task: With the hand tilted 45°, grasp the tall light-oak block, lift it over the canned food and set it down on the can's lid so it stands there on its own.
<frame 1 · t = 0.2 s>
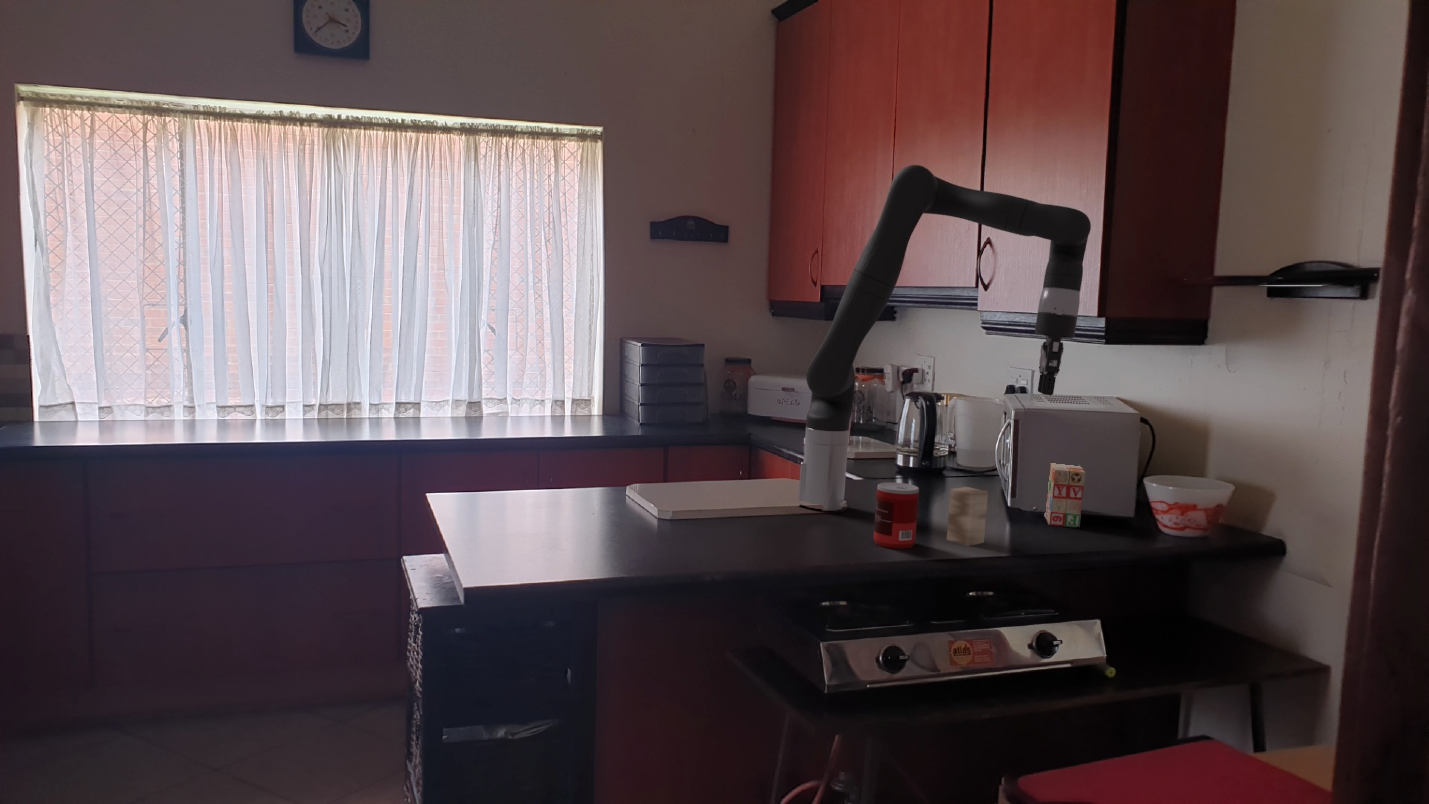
hand: (1044, 393, 197), 29 cm above the countertop, tool pointing down, fingers open, 8 cm apart
oak block: (965, 541, 192), on the countertop
stack of blocks: (1057, 517, 220), on the countertop
canned food: (893, 544, 187), on the countertop
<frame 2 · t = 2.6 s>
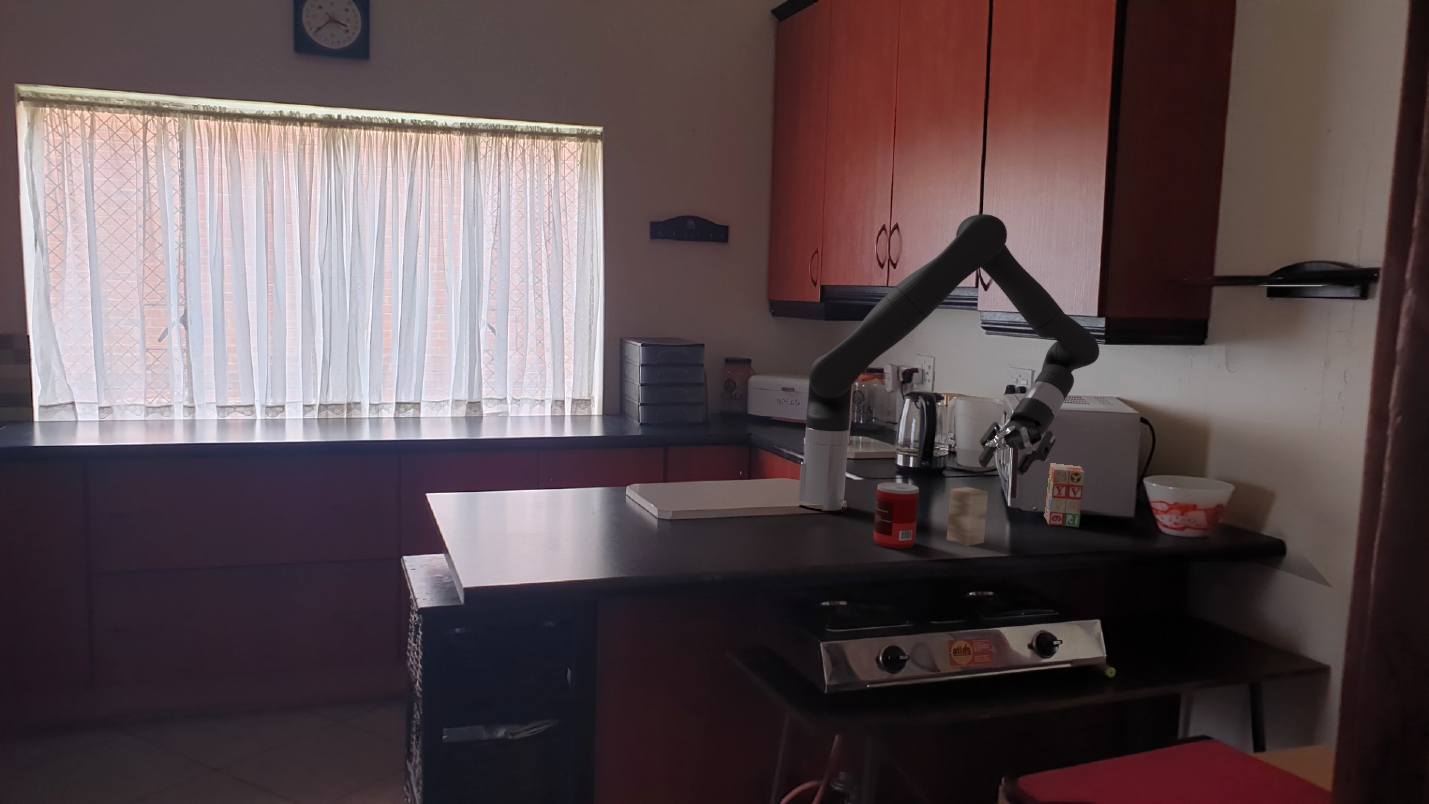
hand: (1000, 468, 197), 14 cm above the countertop, tool tilted 45°, fingers open, 8 cm apart
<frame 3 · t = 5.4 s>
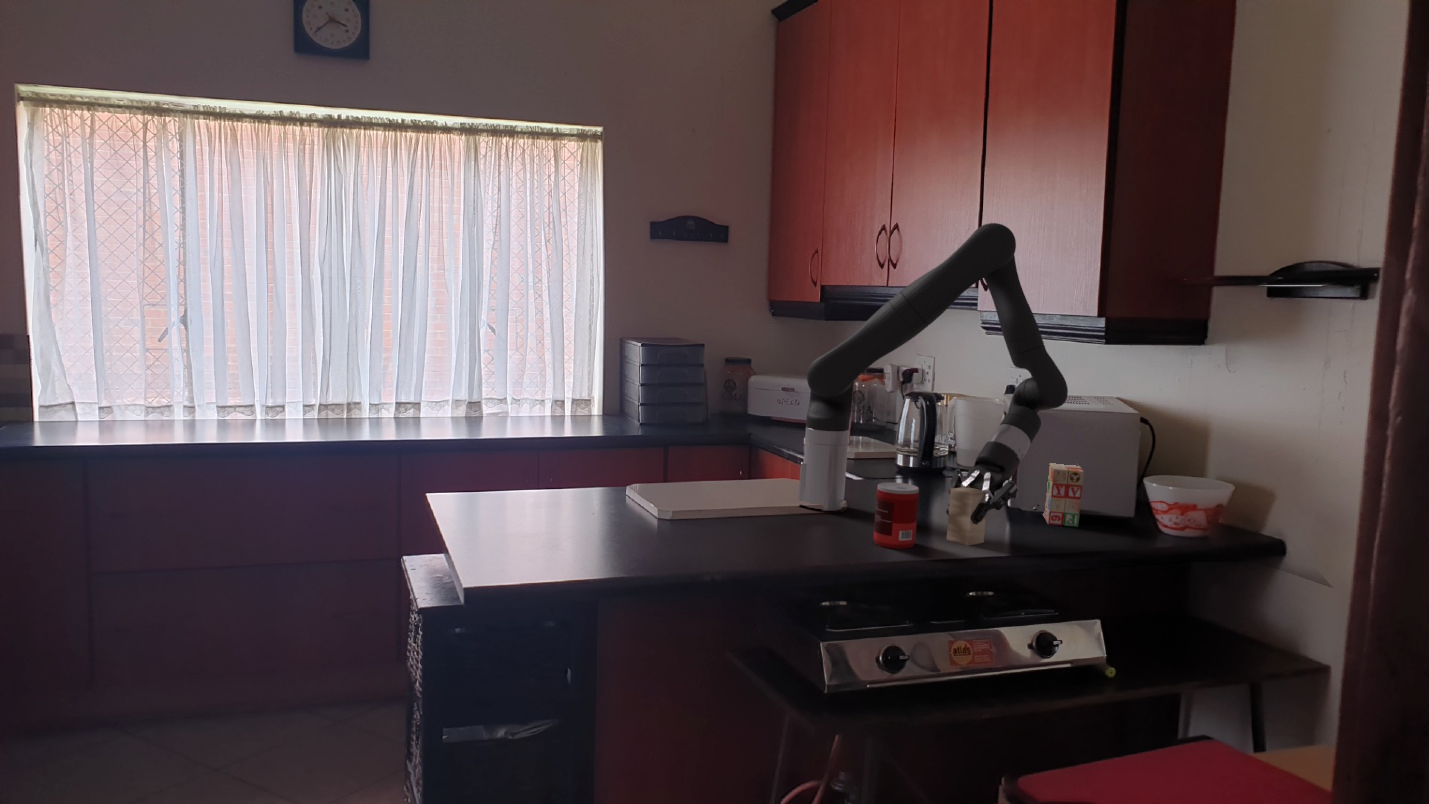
hand: (961, 518, 190), 5 cm above the countertop, tool tilted 45°, fingers closed on oak block, 5 cm apart
oak block: (965, 541, 192), on the countertop, touching gripper
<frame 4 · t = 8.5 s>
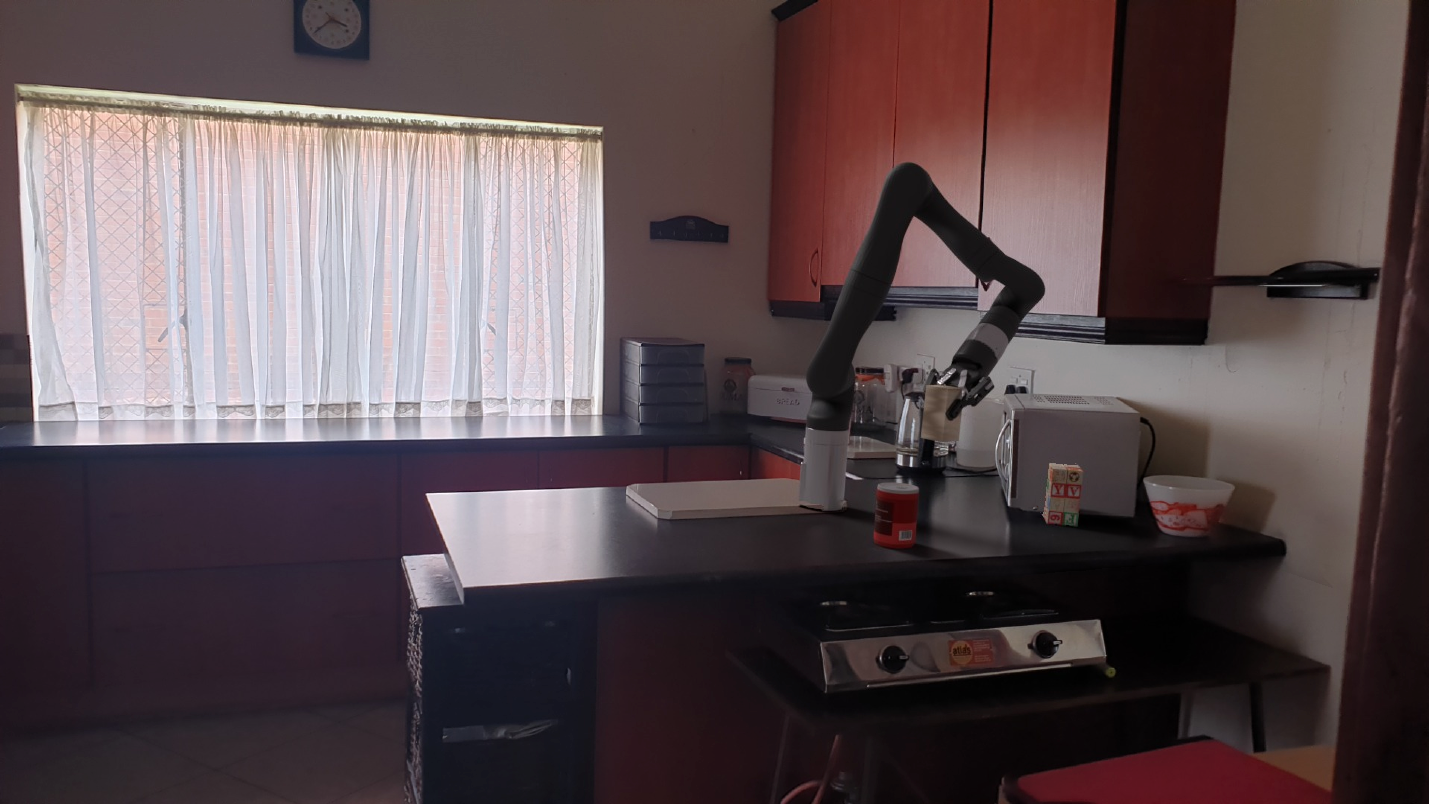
hand: (936, 415, 186), 25 cm above the countertop, tool tilted 45°, fingers closed on oak block, 5 cm apart
oak block: (939, 439, 188), point 20 cm above the countertop, touching gripper
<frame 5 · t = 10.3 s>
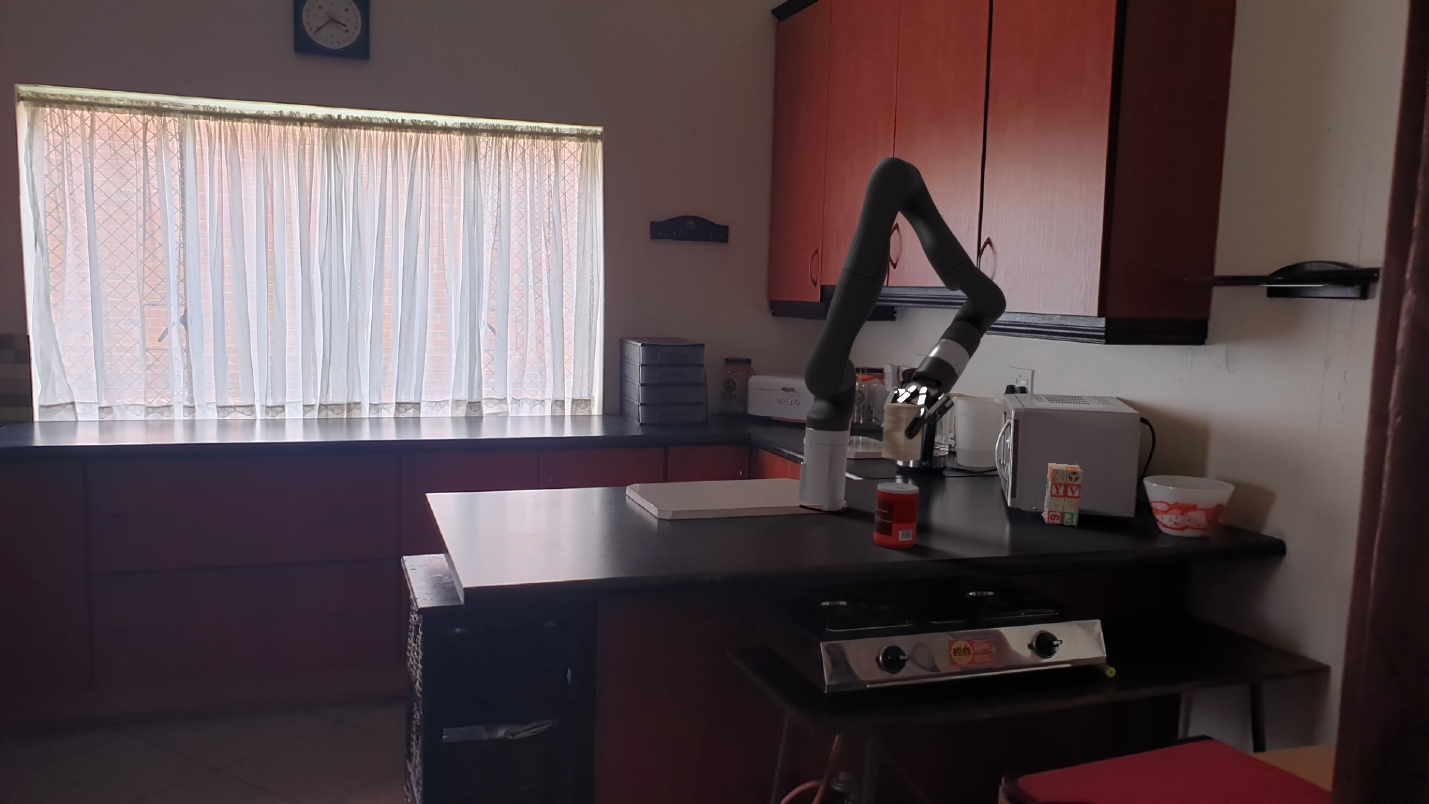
hand: (896, 434, 183), 21 cm above the countertop, tool tilted 45°, fingers closed on oak block, 5 cm apart
oak block: (900, 458, 185), point 16 cm above the countertop, touching gripper
when the fingers open (17 cm above the countertop, at t = 11.6 s): oak block drops 1 cm, resting on canned food.
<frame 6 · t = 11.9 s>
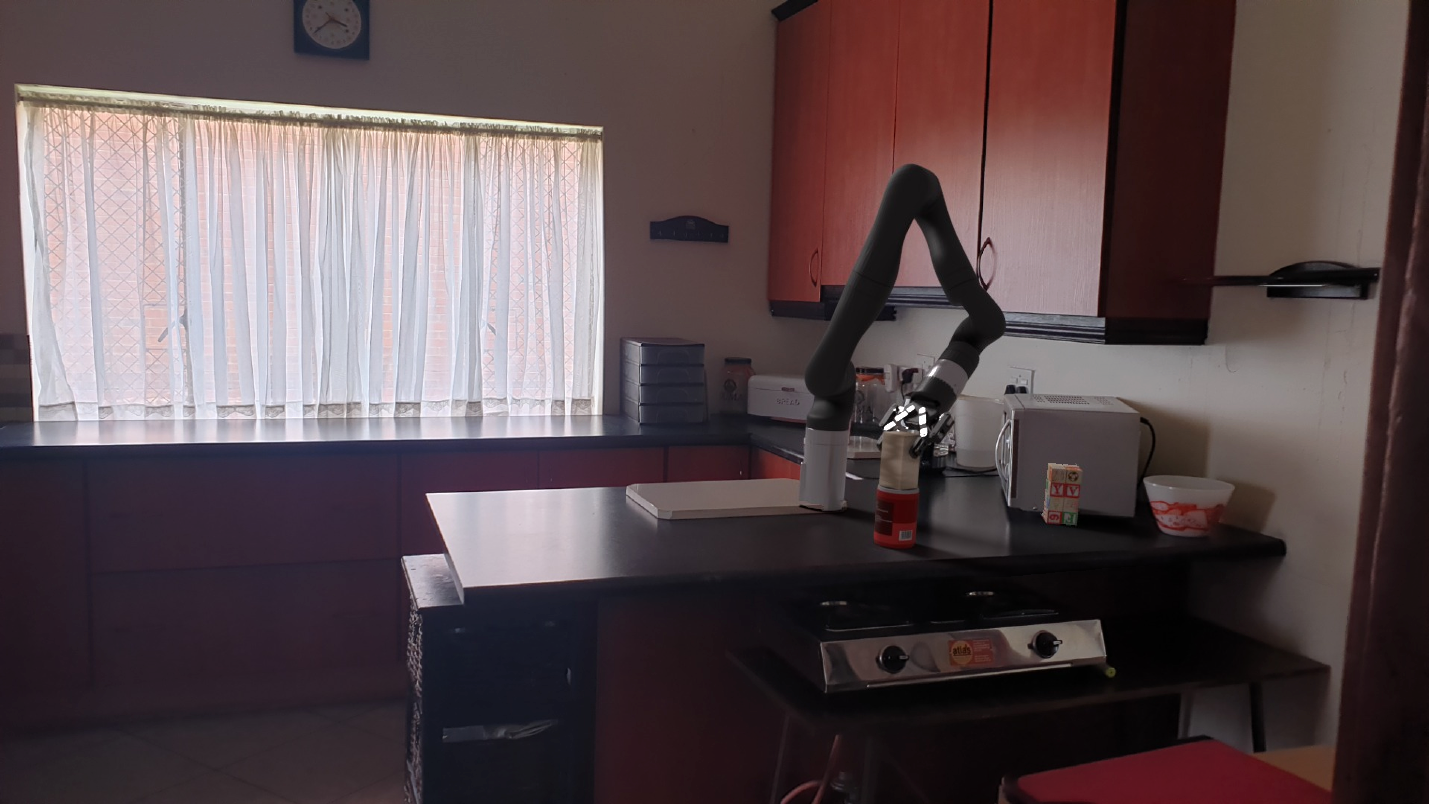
hand: (895, 452, 184), 17 cm above the countertop, tool tilted 45°, fingers open, 7 cm apart
oak block: (898, 486, 185), point 11 cm above the countertop, touching canned food
canned food: (894, 544, 187), on the countertop, touching oak block
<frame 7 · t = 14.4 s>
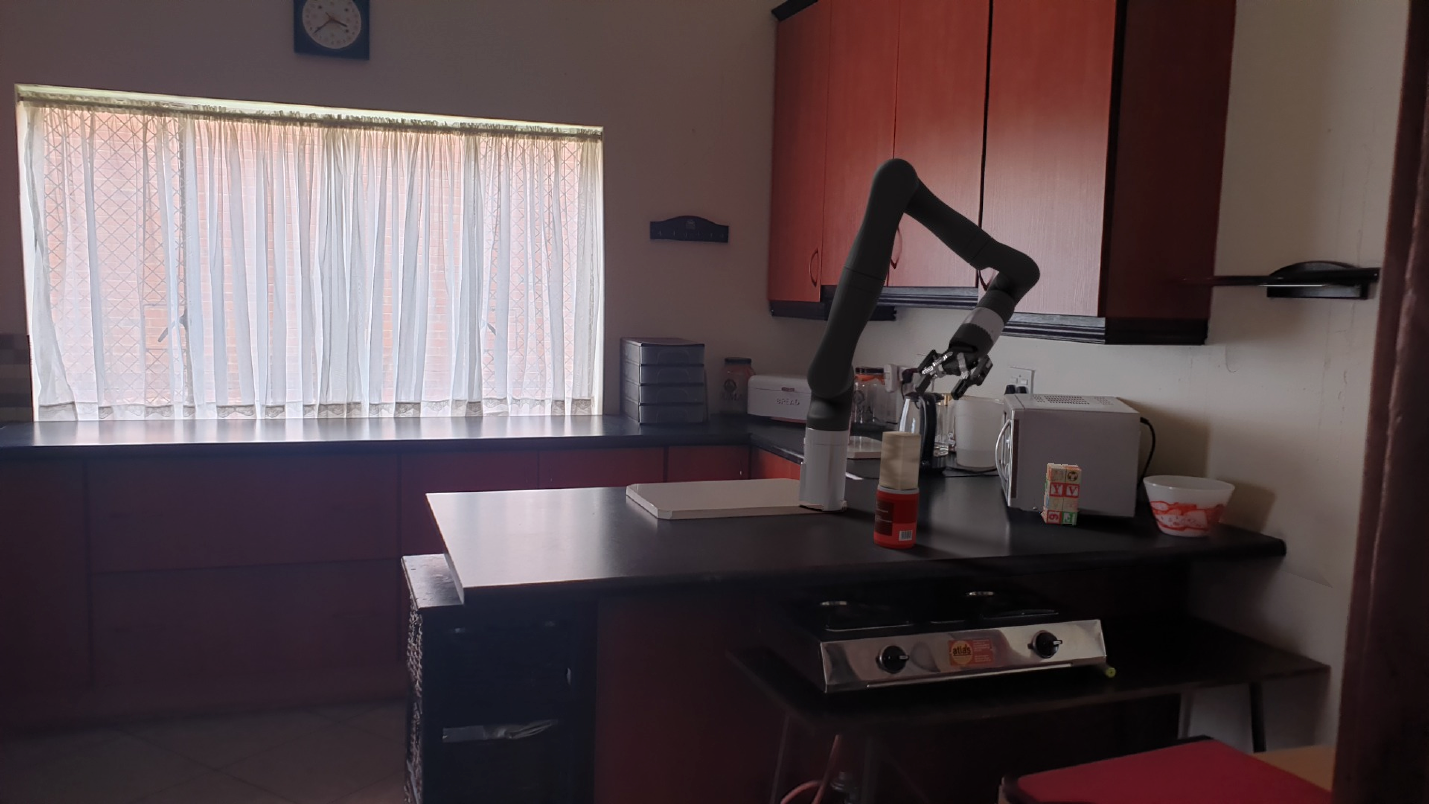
hand: (935, 394, 190), 28 cm above the countertop, tool tilted 45°, fingers open, 8 cm apart
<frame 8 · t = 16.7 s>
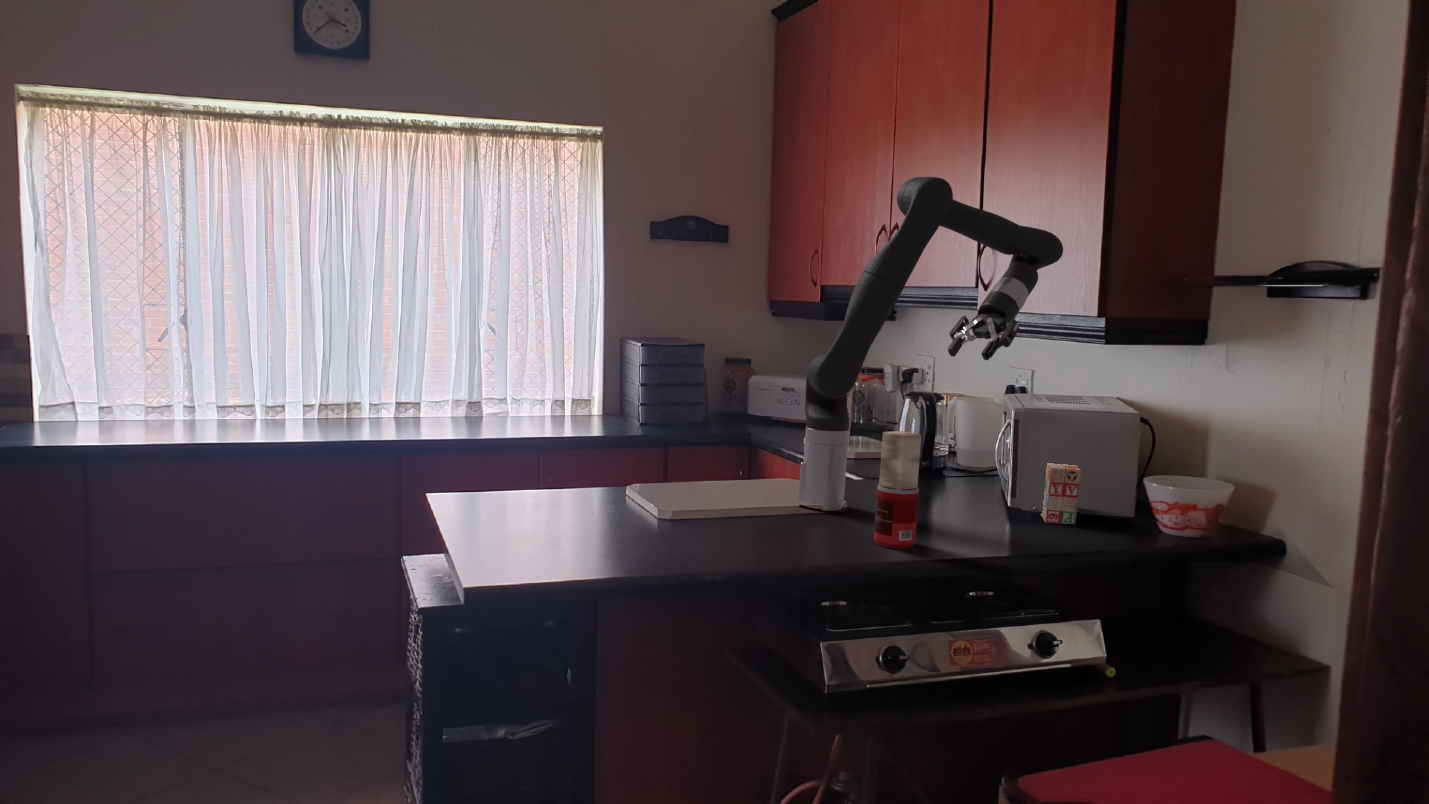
hand: (967, 355, 209), 35 cm above the countertop, tool tilted 45°, fingers open, 8 cm apart
at the end: oak block 0.1 cm off-centre on the canned food, point 11.2 cm above the canned food's base; oak block tilted 0°; the gripper is holding nothing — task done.
